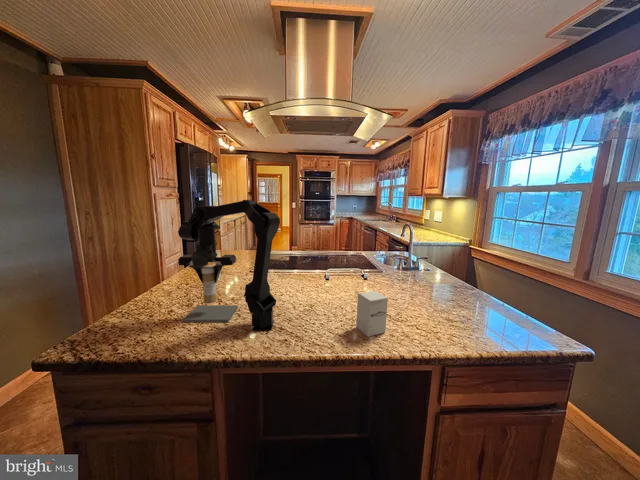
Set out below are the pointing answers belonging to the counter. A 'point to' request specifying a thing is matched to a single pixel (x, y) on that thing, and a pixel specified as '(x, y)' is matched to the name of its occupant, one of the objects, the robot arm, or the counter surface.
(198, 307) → the gray tray
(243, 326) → the counter surface
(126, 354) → the counter surface
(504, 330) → the counter surface
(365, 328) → the supplement box
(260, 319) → the robot arm
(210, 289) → the sprinkles bottle
